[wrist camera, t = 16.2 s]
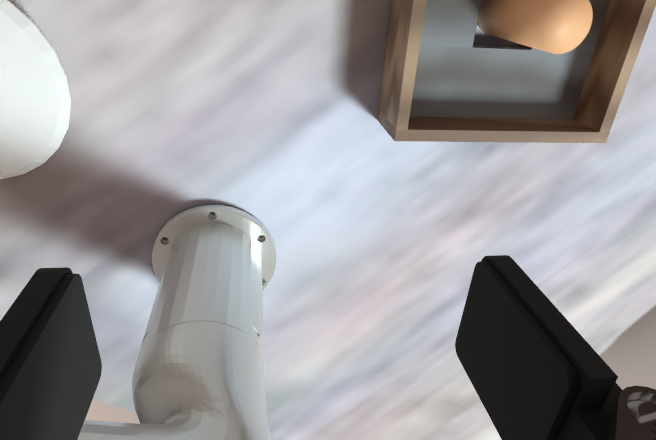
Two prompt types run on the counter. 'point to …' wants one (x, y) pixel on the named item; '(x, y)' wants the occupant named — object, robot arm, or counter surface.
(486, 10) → the peg
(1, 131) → the vase
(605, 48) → the bore box
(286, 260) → the counter surface
